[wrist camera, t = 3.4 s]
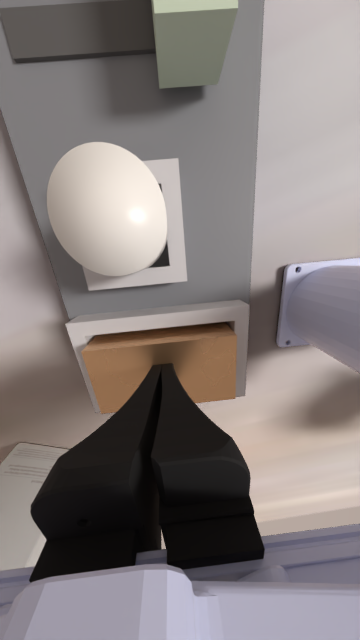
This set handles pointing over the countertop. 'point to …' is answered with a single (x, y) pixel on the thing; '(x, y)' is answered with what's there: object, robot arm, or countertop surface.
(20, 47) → the switch panel
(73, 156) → the off-white button
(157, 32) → the pale green block
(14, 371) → the countertop surface
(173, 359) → the brown rectangular block
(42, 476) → the supplement box
